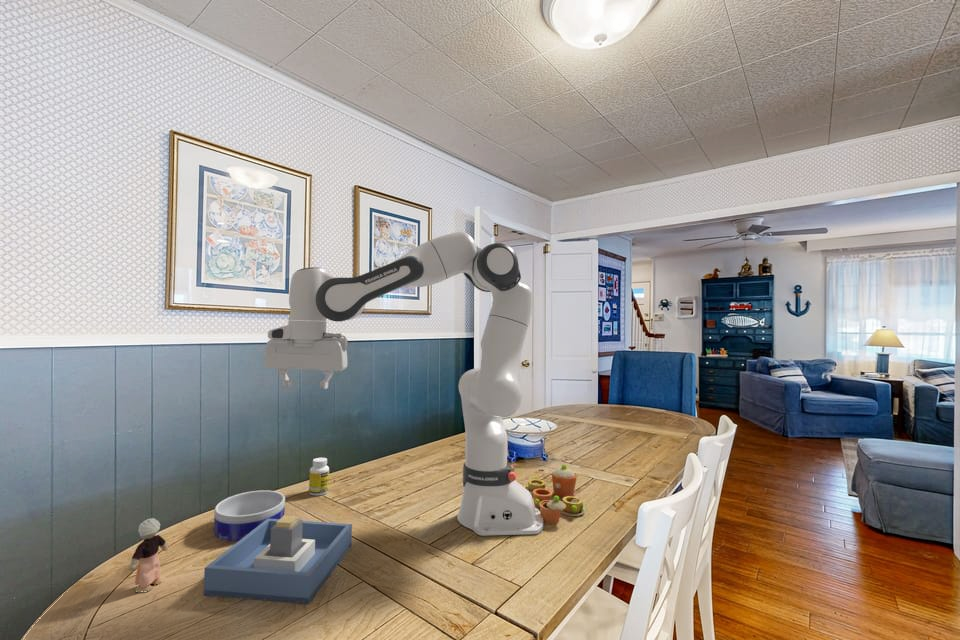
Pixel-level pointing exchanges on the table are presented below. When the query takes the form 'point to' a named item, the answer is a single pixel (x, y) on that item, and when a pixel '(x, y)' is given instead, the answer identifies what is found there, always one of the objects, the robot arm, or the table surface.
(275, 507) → the dog bowl
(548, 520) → the toy tea set
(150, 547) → the grandmother figurine
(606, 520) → the table surface
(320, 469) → the supplement bottle
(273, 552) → the connector plug
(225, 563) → the walled tray
